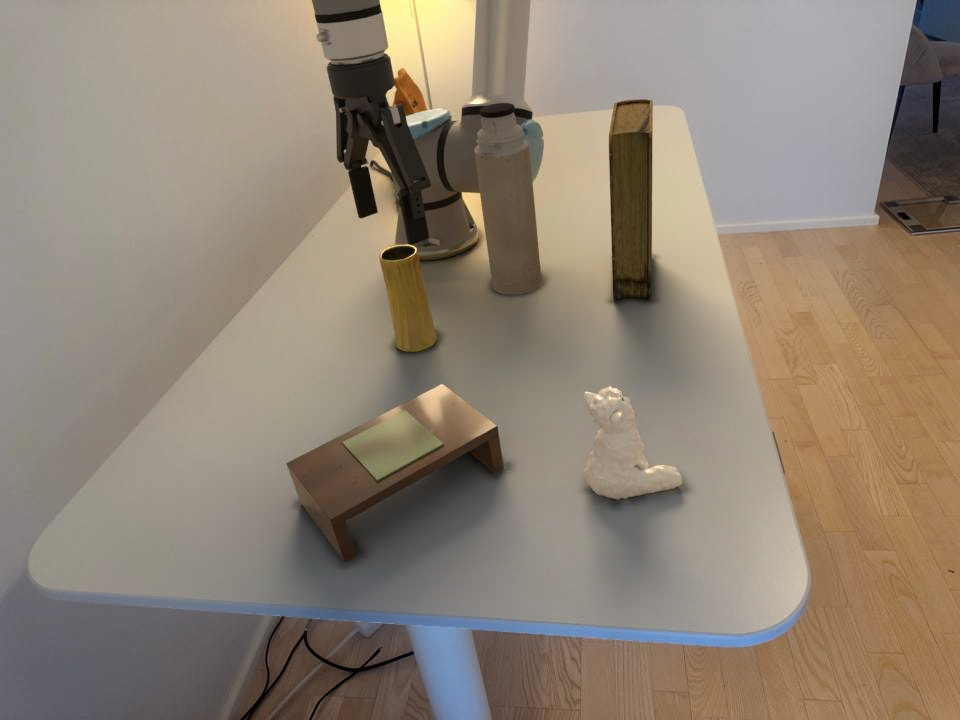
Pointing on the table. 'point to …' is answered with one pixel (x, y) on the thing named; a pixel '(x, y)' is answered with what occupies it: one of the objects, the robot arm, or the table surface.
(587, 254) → the table surface
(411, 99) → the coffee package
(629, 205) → the book
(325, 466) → the shelf
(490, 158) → the thermos bottle
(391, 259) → the vase
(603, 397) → the white creature statuette
